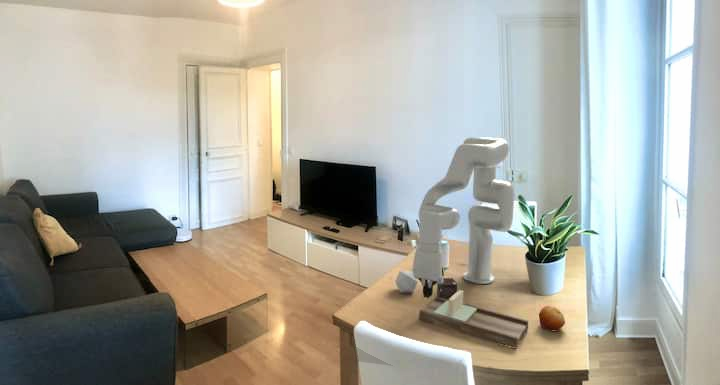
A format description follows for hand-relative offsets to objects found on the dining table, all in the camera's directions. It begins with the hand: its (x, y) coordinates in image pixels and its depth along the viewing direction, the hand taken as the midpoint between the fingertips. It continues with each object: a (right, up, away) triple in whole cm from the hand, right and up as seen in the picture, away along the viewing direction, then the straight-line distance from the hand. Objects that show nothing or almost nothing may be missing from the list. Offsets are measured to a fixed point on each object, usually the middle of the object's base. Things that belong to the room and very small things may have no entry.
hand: (427, 296), depth 155 cm
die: (-6, -3, +19) cm, 20 cm away
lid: (+9, -4, -5) cm, 11 cm away
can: (+13, +3, +46) cm, 48 cm away
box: (+9, -4, +12) cm, 15 cm away
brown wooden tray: (+14, -8, -8) cm, 17 cm away
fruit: (+39, -8, -9) cm, 41 cm away
